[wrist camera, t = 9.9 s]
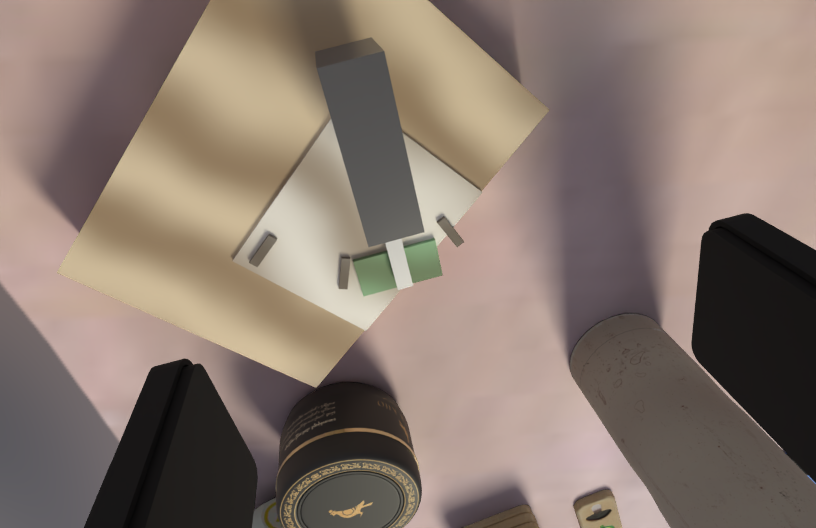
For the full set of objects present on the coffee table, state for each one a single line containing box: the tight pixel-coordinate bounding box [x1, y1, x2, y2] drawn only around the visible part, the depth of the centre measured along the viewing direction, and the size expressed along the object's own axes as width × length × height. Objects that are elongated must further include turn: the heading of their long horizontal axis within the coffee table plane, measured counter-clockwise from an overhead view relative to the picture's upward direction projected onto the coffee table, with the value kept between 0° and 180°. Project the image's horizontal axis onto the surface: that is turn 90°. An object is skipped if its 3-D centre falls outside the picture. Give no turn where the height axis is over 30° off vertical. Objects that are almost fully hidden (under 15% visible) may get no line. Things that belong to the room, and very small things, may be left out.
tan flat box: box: [57, 0, 549, 388], centre depth 29 cm, size 22×17×4 cm
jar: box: [276, 382, 422, 528], centre depth 38 cm, size 10×10×8 cm
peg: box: [315, 37, 424, 290], centre depth 24 cm, size 13×2×7 cm, turn 12°
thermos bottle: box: [570, 313, 816, 528], centre depth 31 cm, size 8×8×28 cm
